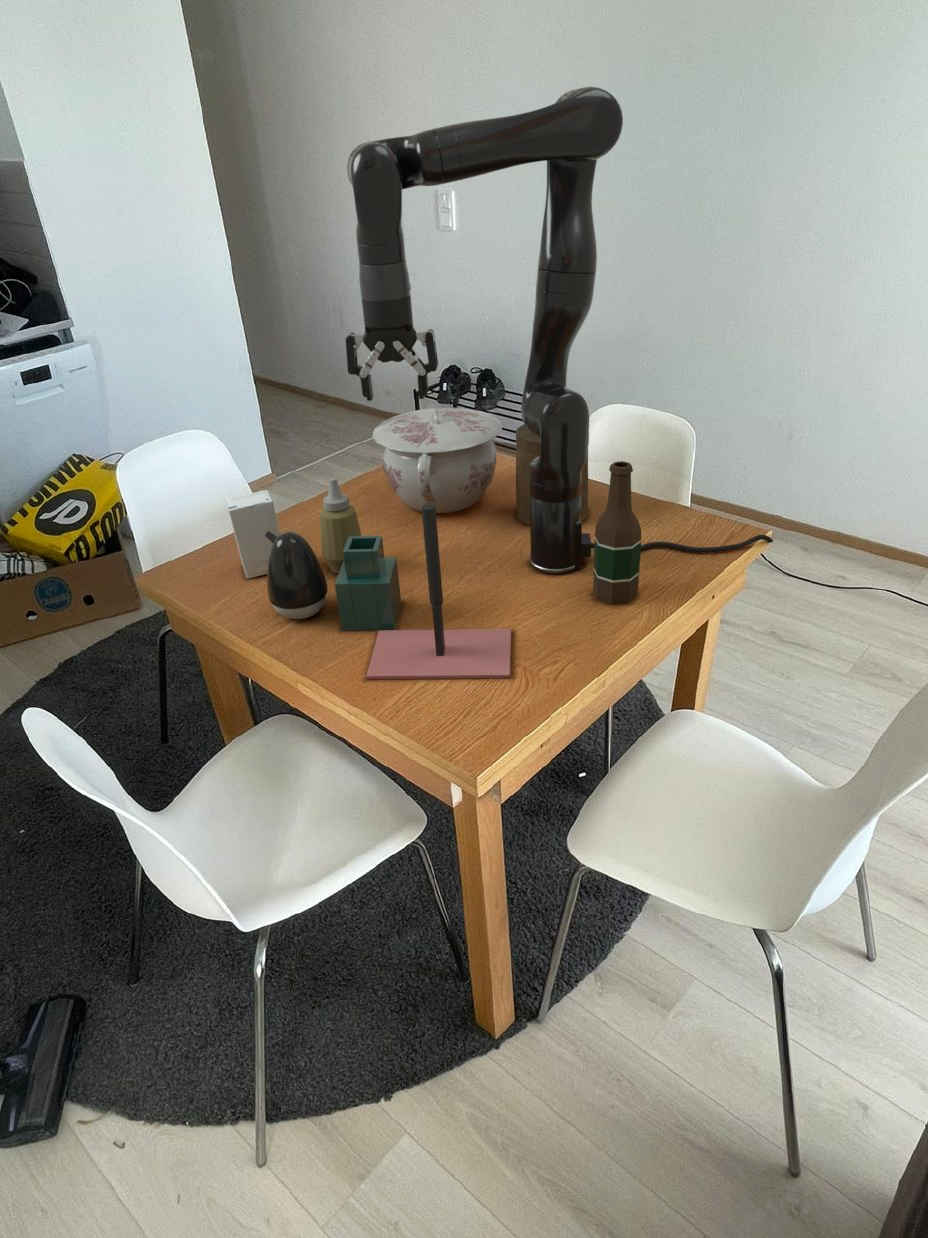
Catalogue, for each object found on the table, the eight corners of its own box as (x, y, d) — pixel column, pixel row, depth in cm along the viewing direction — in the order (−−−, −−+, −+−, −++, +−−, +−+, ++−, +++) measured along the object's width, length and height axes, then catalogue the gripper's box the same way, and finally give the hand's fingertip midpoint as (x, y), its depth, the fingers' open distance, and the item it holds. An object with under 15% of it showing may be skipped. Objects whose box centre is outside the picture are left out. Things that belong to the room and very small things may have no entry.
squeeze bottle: (359, 578, 154) (346, 488, 145) (318, 576, 156) (303, 487, 146) (372, 558, 161) (360, 471, 151) (332, 556, 162) (319, 470, 153)
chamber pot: (447, 468, 199) (441, 382, 188) (530, 497, 181) (529, 405, 170) (354, 504, 183) (341, 413, 172) (434, 541, 166) (426, 442, 155)
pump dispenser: (300, 591, 151) (286, 515, 143) (342, 605, 146) (330, 527, 138) (259, 616, 144) (242, 538, 136) (301, 632, 139) (286, 552, 131)
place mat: (511, 631, 136) (511, 628, 135) (510, 678, 125) (509, 674, 124) (379, 633, 137) (378, 630, 137) (366, 679, 126) (366, 676, 126)
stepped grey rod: (447, 646, 132) (436, 502, 119) (446, 656, 130) (434, 510, 116) (435, 647, 132) (422, 502, 119) (433, 656, 130) (420, 510, 117)
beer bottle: (610, 610, 139) (616, 477, 127) (583, 591, 145) (587, 461, 133) (647, 597, 142) (656, 466, 130) (619, 579, 148) (626, 451, 136)
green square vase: (401, 602, 146) (393, 530, 138) (394, 629, 138) (385, 555, 131) (351, 603, 146) (340, 532, 139) (341, 630, 139) (330, 556, 131)
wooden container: (577, 496, 180) (579, 396, 169) (595, 524, 168) (599, 419, 156) (510, 503, 179) (507, 403, 168) (524, 532, 167) (522, 427, 155)
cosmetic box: (283, 558, 163) (269, 488, 155) (288, 571, 158) (274, 499, 150) (240, 567, 161) (224, 496, 153) (244, 580, 156) (228, 508, 148)
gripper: (334, 300, 123) (349, 407, 131) (429, 295, 122) (437, 404, 130) (344, 290, 129) (357, 393, 138) (434, 286, 128) (441, 390, 137)
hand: (396, 398), depth 134 cm, fingers open, 8 cm apart
